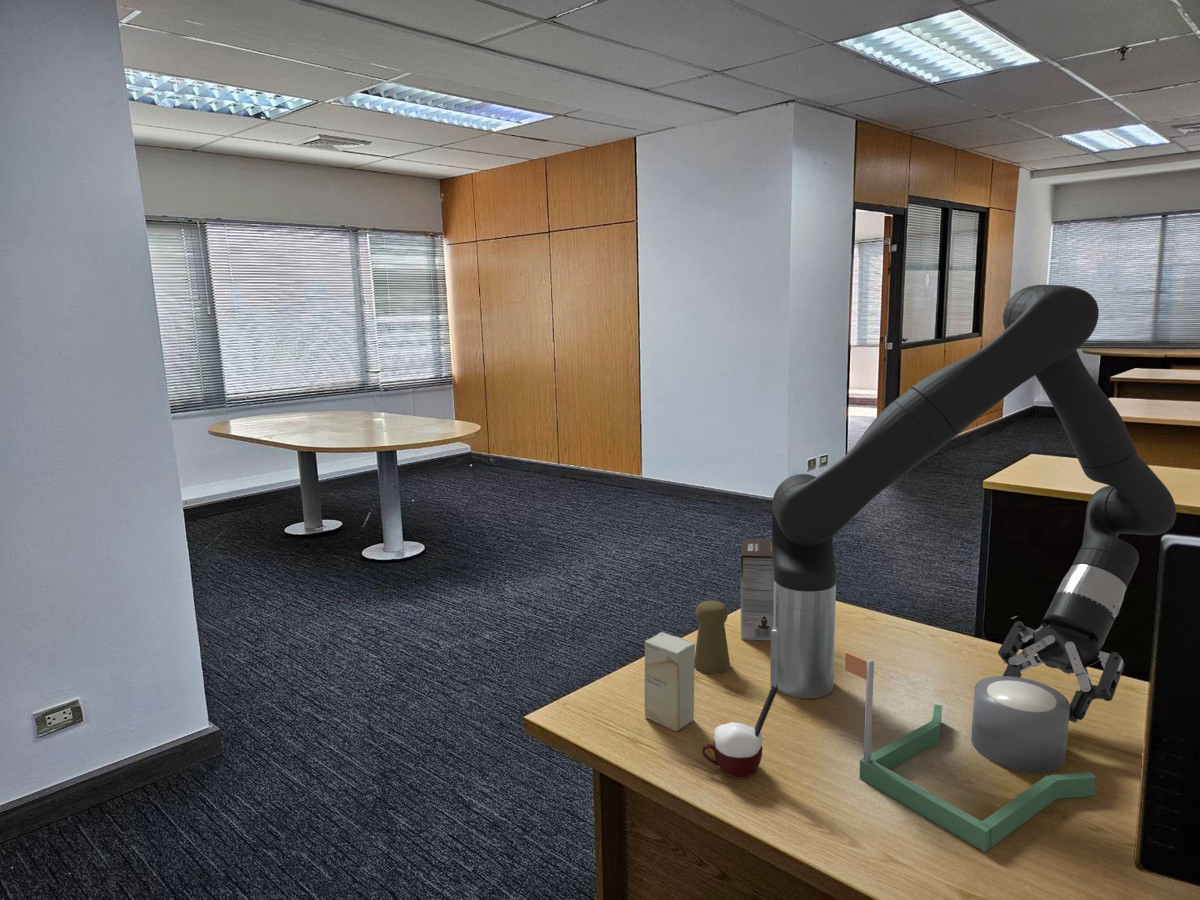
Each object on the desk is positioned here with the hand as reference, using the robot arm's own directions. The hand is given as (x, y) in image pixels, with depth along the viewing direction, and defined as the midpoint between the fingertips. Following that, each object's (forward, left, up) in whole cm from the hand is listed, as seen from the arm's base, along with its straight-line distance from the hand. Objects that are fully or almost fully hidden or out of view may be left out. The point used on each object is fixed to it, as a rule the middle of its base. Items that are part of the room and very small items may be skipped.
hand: (1037, 705), depth 103 cm
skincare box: (-48, -11, -5) cm, 50 cm away
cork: (-46, +7, -5) cm, 47 cm away
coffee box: (-41, +23, -5) cm, 48 cm away
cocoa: (-36, -20, -5) cm, 42 cm away
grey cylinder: (-3, -4, -5) cm, 6 cm away
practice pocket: (-10, -13, -5) cm, 17 cm away
